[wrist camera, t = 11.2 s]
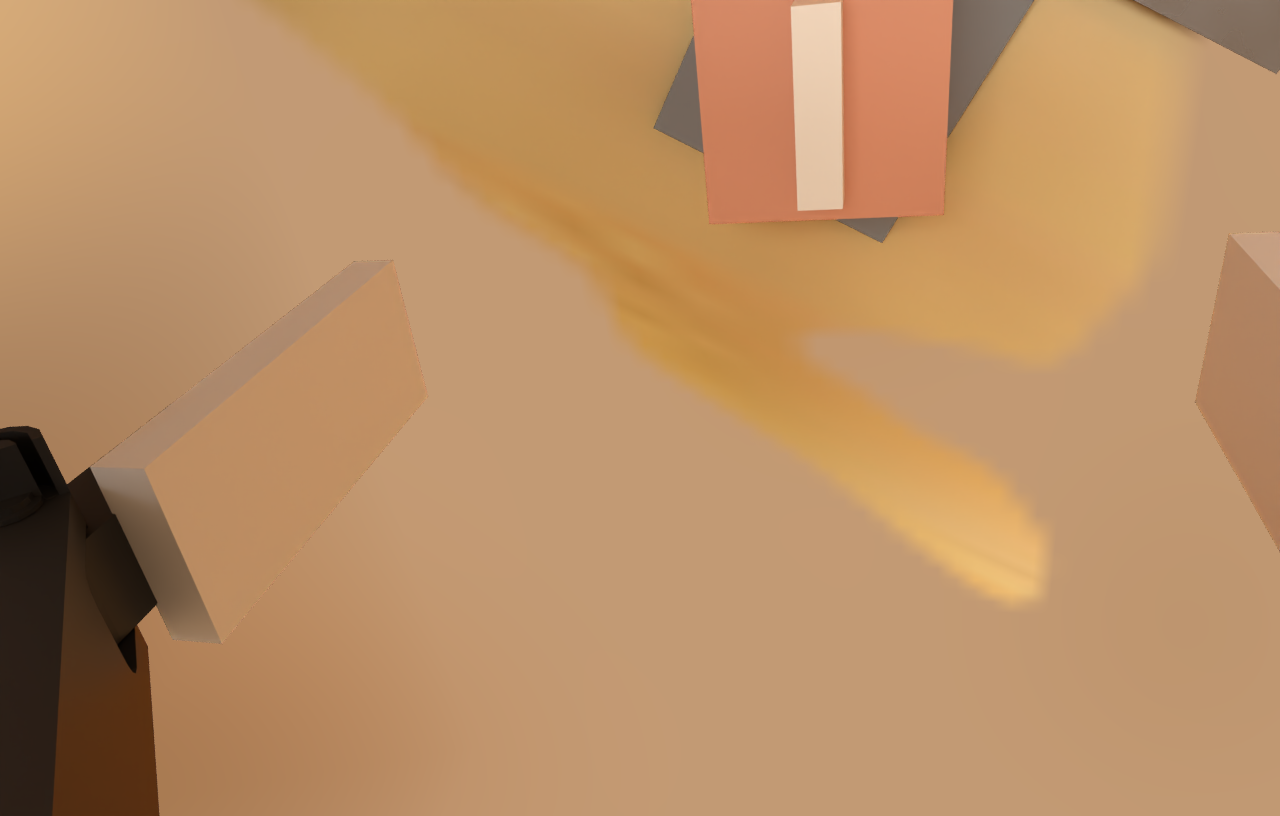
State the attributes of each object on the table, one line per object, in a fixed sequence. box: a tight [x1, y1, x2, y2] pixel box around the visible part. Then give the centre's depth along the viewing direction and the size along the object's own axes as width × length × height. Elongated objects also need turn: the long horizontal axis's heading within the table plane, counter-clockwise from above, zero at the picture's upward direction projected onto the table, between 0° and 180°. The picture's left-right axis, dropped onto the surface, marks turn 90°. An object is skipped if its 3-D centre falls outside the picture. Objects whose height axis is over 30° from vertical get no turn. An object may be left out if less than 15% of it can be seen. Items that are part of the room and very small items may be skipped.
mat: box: [654, 0, 1034, 243], centre depth 34 cm, size 10×10×1 cm
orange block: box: [691, 0, 953, 224], centre depth 31 cm, size 8×8×7 cm
